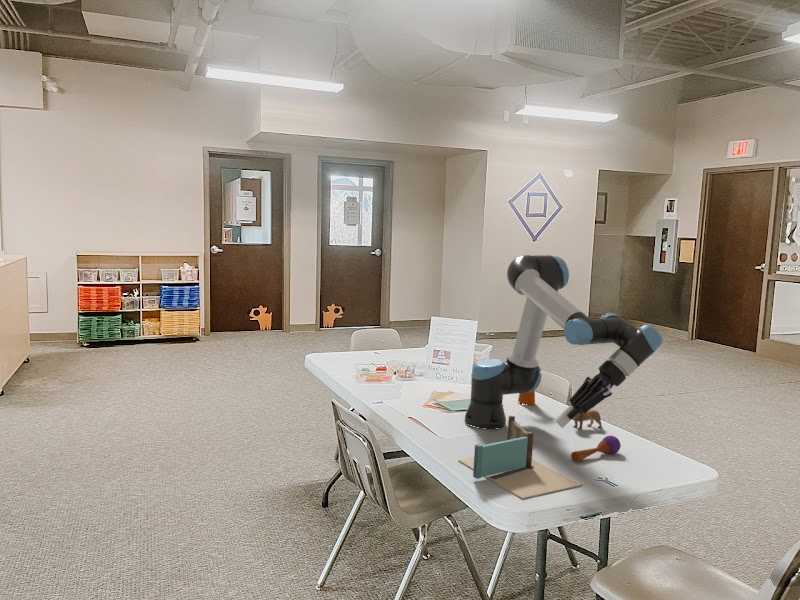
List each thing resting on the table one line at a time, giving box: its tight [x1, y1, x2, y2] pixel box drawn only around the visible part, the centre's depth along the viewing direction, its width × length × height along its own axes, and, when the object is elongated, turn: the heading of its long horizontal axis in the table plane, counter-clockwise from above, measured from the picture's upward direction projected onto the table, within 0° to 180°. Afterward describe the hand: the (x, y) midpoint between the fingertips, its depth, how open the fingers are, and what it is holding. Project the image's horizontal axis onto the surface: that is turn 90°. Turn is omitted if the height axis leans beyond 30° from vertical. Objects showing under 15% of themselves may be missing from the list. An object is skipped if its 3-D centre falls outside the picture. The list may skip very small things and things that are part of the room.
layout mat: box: [457, 456, 583, 500], centre depth 189 cm, size 30×22×1 cm
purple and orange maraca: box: [570, 435, 621, 463], centre depth 206 cm, size 6×6×20 cm
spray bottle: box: [517, 389, 536, 406], centre depth 263 cm, size 7×11×26 cm, turn 111°
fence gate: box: [472, 437, 528, 480], centre depth 186 cm, size 20×2×10 cm, turn 124°
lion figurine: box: [572, 409, 602, 431], centre depth 235 cm, size 15×5×9 cm, turn 114°
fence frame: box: [506, 415, 535, 468], centre depth 201 cm, size 18×2×11 cm, turn 10°
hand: (558, 424), depth 185 cm, fingers closed
